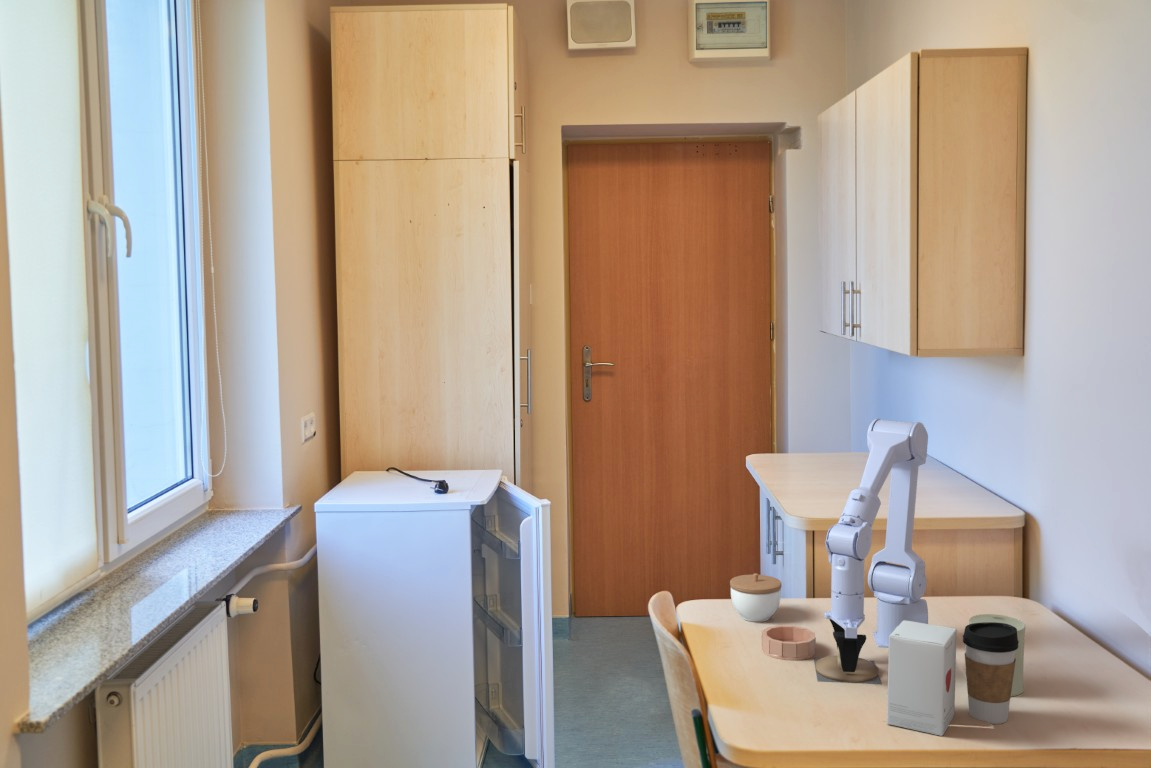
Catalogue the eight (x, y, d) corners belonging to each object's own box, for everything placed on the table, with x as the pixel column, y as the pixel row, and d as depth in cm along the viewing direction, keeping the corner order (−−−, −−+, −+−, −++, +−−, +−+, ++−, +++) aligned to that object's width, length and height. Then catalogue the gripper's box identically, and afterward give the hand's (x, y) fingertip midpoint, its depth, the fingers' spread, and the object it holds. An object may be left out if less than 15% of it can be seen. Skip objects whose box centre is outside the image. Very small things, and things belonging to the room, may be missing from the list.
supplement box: (943, 737, 161) (945, 645, 160) (885, 725, 166) (887, 635, 165) (956, 716, 169) (958, 627, 168) (900, 705, 174) (902, 618, 172)
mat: (874, 662, 192) (874, 660, 192) (881, 686, 182) (881, 684, 182) (813, 660, 194) (813, 658, 194) (817, 683, 183) (817, 680, 183)
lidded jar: (791, 617, 218) (792, 574, 217) (758, 629, 211) (758, 584, 210) (752, 605, 226) (752, 563, 225) (719, 616, 220) (719, 573, 219)
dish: (813, 644, 202) (813, 626, 202) (816, 663, 193) (816, 644, 192) (761, 642, 204) (761, 624, 204) (762, 660, 194) (762, 642, 194)
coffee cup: (1021, 729, 164) (1024, 637, 162) (965, 725, 166) (967, 634, 164) (1010, 707, 172) (1013, 620, 170) (956, 704, 174) (959, 617, 172)
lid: (874, 661, 192) (874, 636, 192) (881, 684, 182) (882, 657, 181) (813, 658, 194) (813, 633, 194) (817, 681, 183) (817, 654, 183)
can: (1021, 679, 184) (1023, 614, 182) (1025, 699, 175) (1028, 631, 174) (966, 673, 187) (967, 609, 185) (967, 693, 178) (969, 626, 177)
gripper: (821, 577, 194) (821, 647, 195) (828, 602, 180) (827, 677, 181) (860, 579, 193) (859, 649, 194) (869, 603, 179) (868, 679, 180)
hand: (846, 663), depth 188 cm, fingers open, 7 cm apart
